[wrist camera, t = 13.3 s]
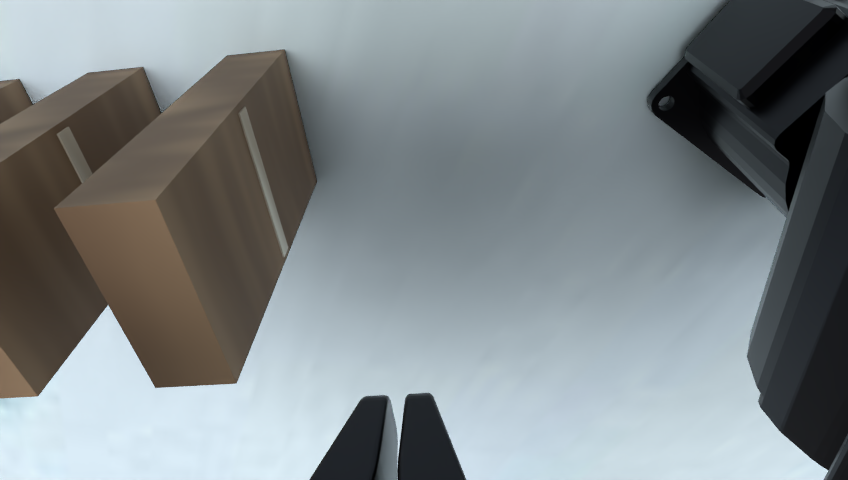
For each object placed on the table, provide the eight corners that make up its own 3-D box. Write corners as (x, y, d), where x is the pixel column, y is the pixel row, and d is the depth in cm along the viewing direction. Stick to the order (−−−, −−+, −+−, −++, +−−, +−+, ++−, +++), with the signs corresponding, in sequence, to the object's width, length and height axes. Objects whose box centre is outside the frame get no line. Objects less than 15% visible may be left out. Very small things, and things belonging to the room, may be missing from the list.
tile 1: (286, 49, 18) (157, 199, 10) (318, 181, 21) (238, 383, 13) (225, 56, 19) (51, 208, 10) (265, 185, 21) (153, 388, 13)
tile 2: (144, 66, 19) (-90, 224, 11) (194, 193, 22) (39, 395, 13) (86, 73, 19) (-188, 232, 11) (143, 197, 22) (-40, 400, 14)
